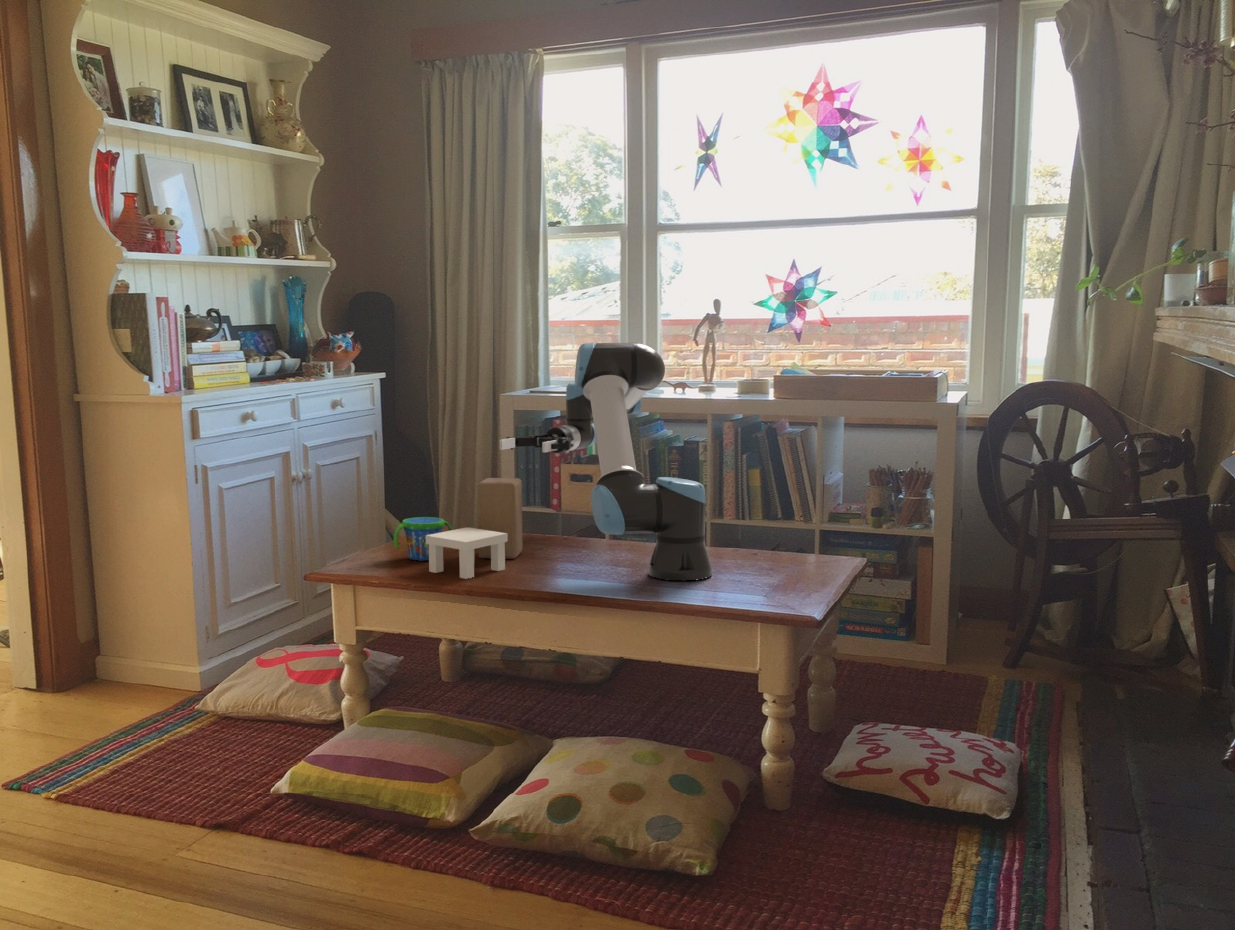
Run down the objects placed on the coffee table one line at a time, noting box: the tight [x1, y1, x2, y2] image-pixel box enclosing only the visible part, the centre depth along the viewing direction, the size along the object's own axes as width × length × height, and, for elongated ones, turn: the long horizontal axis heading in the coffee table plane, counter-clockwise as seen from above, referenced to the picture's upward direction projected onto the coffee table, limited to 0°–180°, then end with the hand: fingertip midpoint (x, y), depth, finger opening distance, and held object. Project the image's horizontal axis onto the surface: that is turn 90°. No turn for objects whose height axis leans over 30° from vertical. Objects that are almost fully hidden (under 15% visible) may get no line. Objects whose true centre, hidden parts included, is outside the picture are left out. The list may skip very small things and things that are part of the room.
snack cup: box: [392, 516, 453, 562], centre depth 264 cm, size 16×10×10 cm
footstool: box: [426, 526, 508, 580], centre depth 251 cm, size 14×14×9 cm
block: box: [477, 477, 523, 560], centre depth 268 cm, size 10×10×20 cm
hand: (521, 446), depth 275 cm, fingers open, 13 cm apart
